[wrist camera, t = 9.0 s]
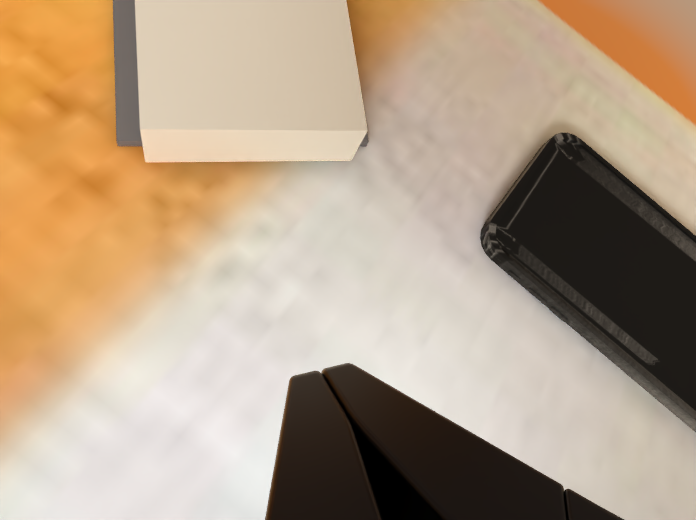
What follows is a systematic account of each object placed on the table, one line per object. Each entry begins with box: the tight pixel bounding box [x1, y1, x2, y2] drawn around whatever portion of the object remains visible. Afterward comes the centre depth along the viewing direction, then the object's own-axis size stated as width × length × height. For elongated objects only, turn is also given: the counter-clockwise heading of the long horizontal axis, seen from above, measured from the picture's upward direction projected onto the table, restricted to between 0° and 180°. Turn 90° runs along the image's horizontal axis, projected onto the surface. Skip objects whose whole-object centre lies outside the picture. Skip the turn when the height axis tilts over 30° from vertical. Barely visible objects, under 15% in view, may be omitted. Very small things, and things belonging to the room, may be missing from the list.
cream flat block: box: [135, 0, 368, 162], centre depth 23 cm, size 3×8×10 cm
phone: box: [480, 133, 696, 432], centre depth 26 cm, size 8×1×15 cm
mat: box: [113, 0, 368, 146], centre depth 25 cm, size 11×10×1 cm
